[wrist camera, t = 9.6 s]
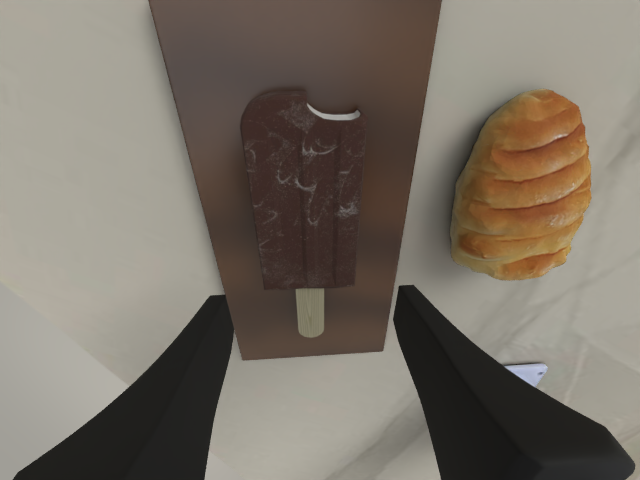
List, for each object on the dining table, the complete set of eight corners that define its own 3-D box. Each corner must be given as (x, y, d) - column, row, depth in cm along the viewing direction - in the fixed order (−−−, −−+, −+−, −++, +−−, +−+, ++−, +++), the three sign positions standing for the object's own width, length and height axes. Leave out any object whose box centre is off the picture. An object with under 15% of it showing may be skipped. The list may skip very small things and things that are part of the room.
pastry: (443, 107, 14) (487, 125, 11) (588, 69, 14) (677, 76, 11) (443, 258, 19) (473, 299, 16) (548, 234, 19) (600, 272, 16)
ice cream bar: (347, 323, 21) (363, 88, 13) (351, 342, 20) (371, 93, 11) (273, 327, 21) (240, 90, 12) (271, 347, 19) (233, 96, 11)
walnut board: (381, 343, 24) (383, 351, 23) (243, 351, 23) (242, 361, 23) (436, -12, 12) (445, -16, 11) (153, -10, 11) (143, -14, 10)
